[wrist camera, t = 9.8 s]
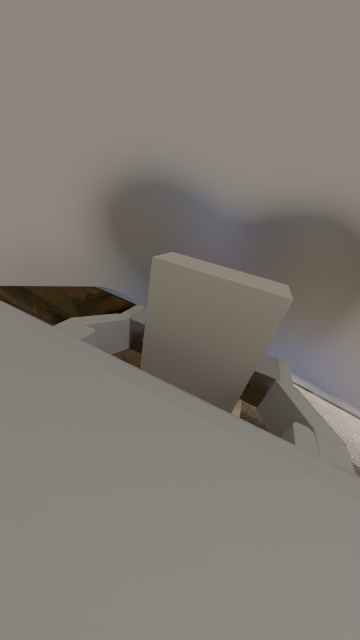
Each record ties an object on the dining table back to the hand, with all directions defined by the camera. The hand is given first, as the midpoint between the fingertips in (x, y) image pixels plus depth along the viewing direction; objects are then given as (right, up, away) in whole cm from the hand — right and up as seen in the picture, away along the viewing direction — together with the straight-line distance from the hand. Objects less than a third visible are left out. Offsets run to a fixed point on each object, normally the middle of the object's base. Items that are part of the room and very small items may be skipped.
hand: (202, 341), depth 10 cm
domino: (-1, -5, +2) cm, 6 cm away
